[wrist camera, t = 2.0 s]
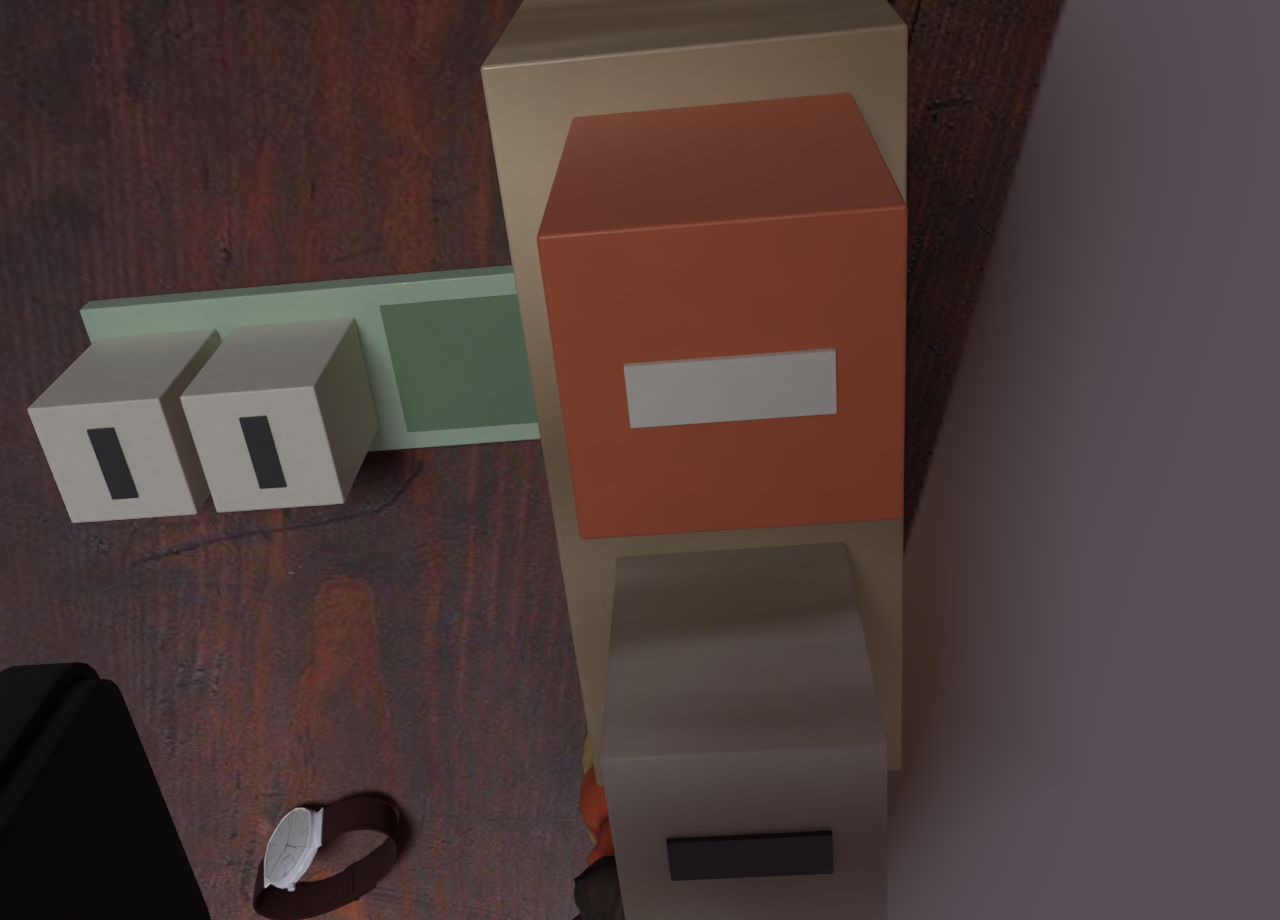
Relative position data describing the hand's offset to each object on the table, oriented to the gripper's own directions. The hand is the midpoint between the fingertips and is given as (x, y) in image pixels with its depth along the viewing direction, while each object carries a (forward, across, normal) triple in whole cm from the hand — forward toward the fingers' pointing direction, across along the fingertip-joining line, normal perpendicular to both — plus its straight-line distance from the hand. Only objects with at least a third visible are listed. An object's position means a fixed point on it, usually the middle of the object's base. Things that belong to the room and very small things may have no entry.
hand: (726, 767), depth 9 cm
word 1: (+30, +13, +9) cm, 34 cm away
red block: (+11, 0, -1) cm, 11 cm away
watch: (+30, +18, +31) cm, 47 cm away
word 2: (+30, 0, +3) cm, 30 cm away
